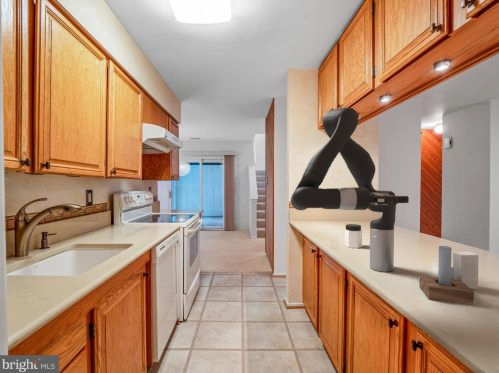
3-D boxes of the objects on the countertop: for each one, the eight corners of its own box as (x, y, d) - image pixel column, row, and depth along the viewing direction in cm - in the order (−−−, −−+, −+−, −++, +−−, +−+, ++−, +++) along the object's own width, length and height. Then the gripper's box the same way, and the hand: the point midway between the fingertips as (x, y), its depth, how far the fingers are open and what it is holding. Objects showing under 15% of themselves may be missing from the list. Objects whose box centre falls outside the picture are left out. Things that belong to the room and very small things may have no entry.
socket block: (419, 287, 96) (419, 276, 96) (459, 291, 93) (459, 279, 93) (428, 299, 87) (428, 287, 87) (473, 304, 83) (474, 291, 83)
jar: (351, 243, 159) (351, 223, 159) (364, 246, 153) (364, 225, 153) (342, 246, 154) (342, 225, 154) (355, 249, 148) (355, 227, 147)
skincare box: (468, 284, 99) (468, 251, 98) (478, 289, 95) (479, 254, 94) (451, 284, 99) (452, 251, 98) (461, 289, 94) (462, 255, 94)
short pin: (440, 284, 99) (440, 265, 98) (451, 285, 98) (451, 266, 97) (443, 288, 95) (444, 268, 95) (455, 289, 94) (455, 269, 94)
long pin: (436, 292, 92) (437, 245, 91) (448, 293, 91) (449, 246, 90) (440, 296, 89) (440, 248, 88) (452, 298, 88) (453, 248, 87)
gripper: (359, 188, 84) (413, 188, 83) (345, 186, 98) (391, 186, 97) (359, 212, 84) (413, 212, 84) (345, 207, 98) (390, 207, 98)
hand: (401, 198), depth 90 cm, fingers open, 8 cm apart
